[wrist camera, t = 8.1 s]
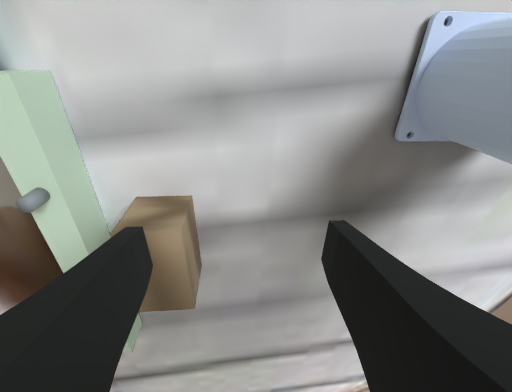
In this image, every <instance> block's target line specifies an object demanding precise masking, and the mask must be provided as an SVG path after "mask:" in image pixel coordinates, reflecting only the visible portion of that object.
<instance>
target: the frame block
mask: <svg viewBox="0 0 512 392" xmlns="http://www.w3.org/2000/svg"><path fill="white" fill-rule="evenodd" d="M139 226H143V230H144V233H145V237H146V241H147V244H148V248H149V252H150V256H151V259H152V263H153V269H152V273H151V277H150V281H149V285H148V288H147V292H146V294H145V297H144V299H143V302H142V305H141V307H140V310H139V312H147V311H165V310H182V309H194V308H195V302H196V296H197V290H198V284H199V278H200V272H201V257H200V250H199V243H198V235H197V228H196V221H195V213H194V206H193V199H192V196H159V197H136V199H135V200H134V201H133V203H132V204H131V206H130V207H129V209H128V210H127V211H126V213H125V214H124V216H123V217H122V218H121V220H120V221H119V223H118V224H117V226H116V227H115V228H114V230H113V231H112V233H111V234H110V236H111V237H113V236H114V235H115V234H117V233H118V232H119V231H121V230H122V229H124V228H125V227H139Z"/></svg>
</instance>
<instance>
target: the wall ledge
mask: <svg viewBox="0 0 512 392" xmlns="http://www.w3.org/2000/svg"><path fill="white" fill-rule="evenodd" d="M0 156H1V158H2V160H3V162H4V163H5V165H6V167H7V169H8V171H9V173H10V175H11V176H12V178H13V180H14V182H15V184H16V186H17V188H18V190H19V191H20V193H21V195H22V197H21V198H19V199H18V200H17V201H16V206H17V207H18V208H19V209H20V210H21V211H23V212H27V213H31V214H32V216H33V217H34V219H35V221H36V223H37V225H38V227H39V229H40V230H41V232H42V234H43V236H44V238H45V240H46V242H47V243H48V245H49V247H50V249H51V251H52V253H53V255H54V256H55V258H56V260H57V262H58V264H59V266H60V268H61V269H62V271H63V273H65V272H66V271H67V270H69V269H70V268H72V267H73V266H74V265H76V264H77V263H78V262H80V261H81V260H82V259H84V258H85V257H86V256H88V255H89V254H90V253H92V252H93V251H94V250H96V249H97V248H98V247H100V246H101V245H102V244H103V243H105V242H106V241H107V240H109V239H110V238H111V236H110V233H109V230H108V227H107V225H106V222H105V219H104V216H103V214H102V211H101V208H100V205H99V203H98V200H97V197H96V194H95V192H94V189H93V186H92V183H91V181H90V178H89V175H88V172H87V170H86V167H85V164H84V161H83V159H82V156H81V153H80V150H79V147H78V145H77V142H76V139H75V136H74V134H73V131H72V128H71V125H70V123H69V120H68V117H67V114H66V112H65V109H64V106H63V103H62V101H61V98H60V95H59V92H58V90H57V87H56V84H55V81H54V79H53V76H52V73H51V71H19V70H6V71H0ZM141 325H142V321H141V318H140V316H139V313H138V315H137V317H136V319H135V322H134V324H133V327H132V329H131V332H130V334H129V337H128V339H127V342H126V344H125V347H124V349H123V351H122V353H130V352H132V351H133V348H134V345H135V342H136V339H137V337H138V334H139V331H140V328H141Z"/></svg>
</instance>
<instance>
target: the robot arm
mask: <svg viewBox="0 0 512 392" xmlns="http://www.w3.org/2000/svg"><path fill="white" fill-rule="evenodd" d="M446 18H448V22H447V24H446V25H444V21H445V19H446ZM409 132H410V135H409V136H408V137H407V134H408V133H409ZM395 139H396V140H398V141H401V142H409V141H454V142H457V143H459V144H462V145H464V146H467V147H469V148H472V149H475V150H477V151H480V152H482V153H485V154H487V155H490V156H492V157H495V158H498V159H500V160H503V161H505V162H508V163H510V164H512V13H495V12H463V11H440V12H436V13H435V14H433V15H432V17H431V18H430V20H429V23H428V26H427V29H426V33H425V36H424V39H423V43H422V46H421V49H420V53H419V56H418V59H417V62H416V66H415V69H414V72H413V76H412V79H411V82H410V86H409V89H408V92H407V96H406V99H405V102H404V106H403V109H402V112H401V115H400V119H399V122H398V125H397V129H396V132H395ZM321 260H322V263H323V267H324V271H325V274H326V277H327V281H328V284H329V286H330V288H331V291H332V293H333V295H334V298H335V300H336V303H337V305H338V307H339V309H340V312H341V314H342V316H343V319H344V321H345V323H346V326H347V328H348V330H349V333H350V335H351V337H352V340H353V342H354V345H355V347H356V350H357V353H358V356H359V359H360V362H361V365H362V368H363V371H364V374H365V377H366V380H367V383H368V387H369V390H370V392H512V324H509V323H507V322H505V321H503V320H501V319H499V318H497V317H495V316H494V315H492V314H490V313H488V312H486V311H484V310H482V309H480V308H478V307H476V306H474V305H472V304H470V303H468V302H467V301H465V300H463V299H461V298H459V297H457V296H456V295H454V294H452V293H451V292H449V291H447V290H445V289H444V288H442V287H440V286H438V285H437V284H435V283H433V282H432V281H430V280H428V279H427V278H425V277H424V276H422V275H421V274H419V273H417V272H416V271H414V270H413V269H411V268H410V267H408V266H407V265H405V264H404V263H402V262H401V261H399V260H398V259H397V258H395V257H394V256H392V255H391V254H389V253H388V252H387V251H385V250H384V249H383V248H381V247H380V246H378V245H377V244H376V243H374V242H373V241H372V240H370V239H369V238H368V237H366V236H365V235H364V234H362V233H361V232H360V231H358V230H357V229H356V228H354V227H353V226H352V225H350V224H349V223H347V222H346V221H344V220H340V221H329V224H328V229H327V233H326V238H325V243H324V248H323V253H322V258H321ZM152 269H153V263H152V259H151V256H150V252H149V248H148V244H147V241H146V237H145V233H144V230H143V226H139V227H125V228H124V229H122V230H121V231H119V232H118V233H117V234H115V235H114V236H113V237H111V238H110V239H109V240H107V241H106V242H105V243H103V244H102V245H101V246H100V247H98V248H97V249H96V250H94V251H93V252H92V253H90V254H89V255H88V256H86V257H85V258H84V259H82V260H81V261H80V262H78V263H77V264H76V265H74V266H73V267H72V268H70V269H69V270H67V271H66V272H65V273H63V274H62V275H60V276H59V277H58V278H56V279H55V280H53V281H52V282H51V283H49V284H48V285H46V286H45V287H43V288H42V289H41V290H39V291H38V292H36V293H35V294H33V295H32V296H30V297H28V298H27V299H25V300H24V301H22V302H21V303H19V304H18V305H16V306H14V307H13V308H11V309H9V310H8V311H6V312H5V313H3V314H1V315H0V392H109V391H110V388H111V384H112V381H113V378H114V375H115V371H116V368H117V365H118V362H119V360H120V357H121V354H122V351H123V349H124V347H125V344H126V342H127V339H128V337H129V334H130V332H131V329H132V327H133V324H134V322H135V319H136V317H137V315H138V312H139V310H140V307H141V305H142V302H143V299H144V297H145V294H146V292H147V288H148V285H149V281H150V277H151V273H152Z"/></svg>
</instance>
